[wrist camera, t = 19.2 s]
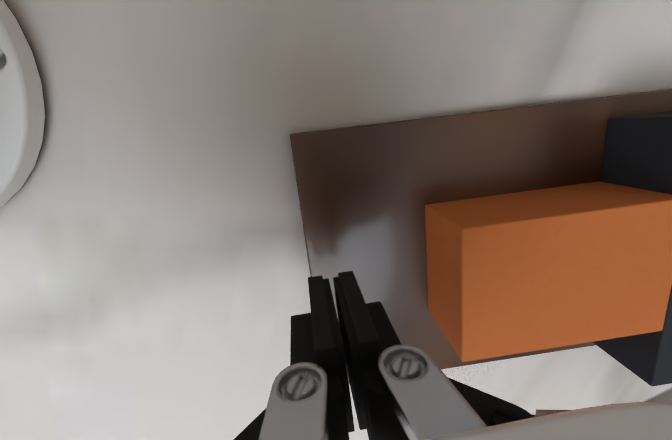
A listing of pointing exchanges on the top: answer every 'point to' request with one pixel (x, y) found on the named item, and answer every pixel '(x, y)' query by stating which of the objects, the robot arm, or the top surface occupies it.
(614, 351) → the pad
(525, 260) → the loose pad
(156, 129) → the top surface
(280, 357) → the top surface
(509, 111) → the board
